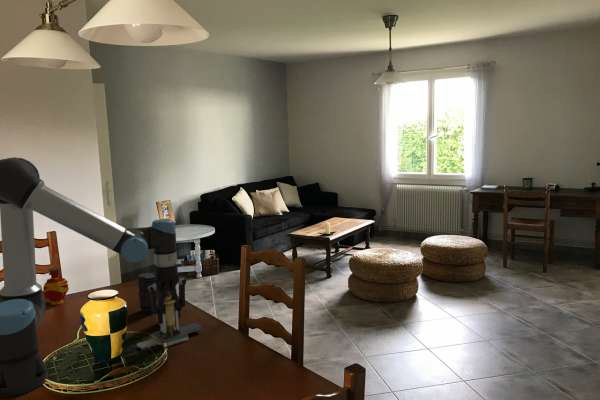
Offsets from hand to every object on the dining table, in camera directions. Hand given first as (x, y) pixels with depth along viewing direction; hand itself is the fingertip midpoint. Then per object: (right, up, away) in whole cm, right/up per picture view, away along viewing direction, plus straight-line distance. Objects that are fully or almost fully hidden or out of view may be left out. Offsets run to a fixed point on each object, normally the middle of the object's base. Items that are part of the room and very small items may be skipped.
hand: (169, 329), depth 162 cm
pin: (0, -2, 0) cm, 2 cm away
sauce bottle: (-6, -2, +15) cm, 16 cm away
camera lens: (-16, 0, +29) cm, 33 cm away
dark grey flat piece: (0, -4, +1) cm, 4 cm away
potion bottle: (-60, 0, +41) cm, 73 cm away
